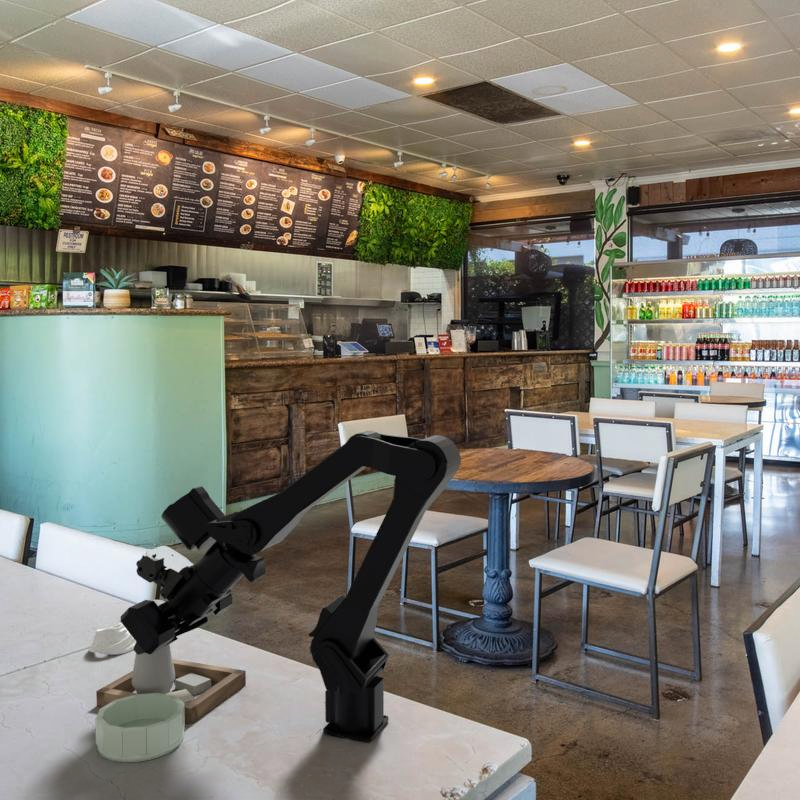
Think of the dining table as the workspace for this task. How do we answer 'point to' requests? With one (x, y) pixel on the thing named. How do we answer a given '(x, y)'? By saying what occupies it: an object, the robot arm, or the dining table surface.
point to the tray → (221, 676)
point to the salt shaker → (154, 670)
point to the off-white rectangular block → (193, 683)
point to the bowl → (140, 727)
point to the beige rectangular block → (182, 695)
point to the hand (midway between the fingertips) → (144, 646)
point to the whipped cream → (113, 640)
